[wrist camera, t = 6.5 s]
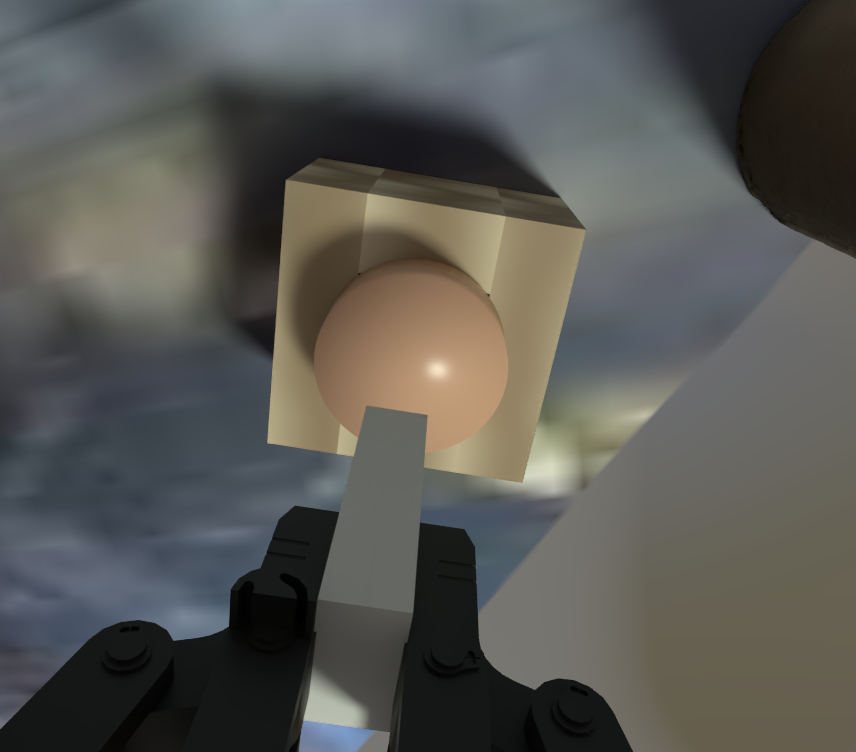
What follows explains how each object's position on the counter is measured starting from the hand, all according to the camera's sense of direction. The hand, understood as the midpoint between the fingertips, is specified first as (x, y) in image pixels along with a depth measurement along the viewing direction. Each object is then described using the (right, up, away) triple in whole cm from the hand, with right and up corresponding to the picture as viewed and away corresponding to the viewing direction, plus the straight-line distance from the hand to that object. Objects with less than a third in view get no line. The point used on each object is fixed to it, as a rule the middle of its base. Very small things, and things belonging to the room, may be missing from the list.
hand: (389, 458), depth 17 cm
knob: (+1, +5, +12) cm, 14 cm away
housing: (+1, +6, +13) cm, 14 cm away
